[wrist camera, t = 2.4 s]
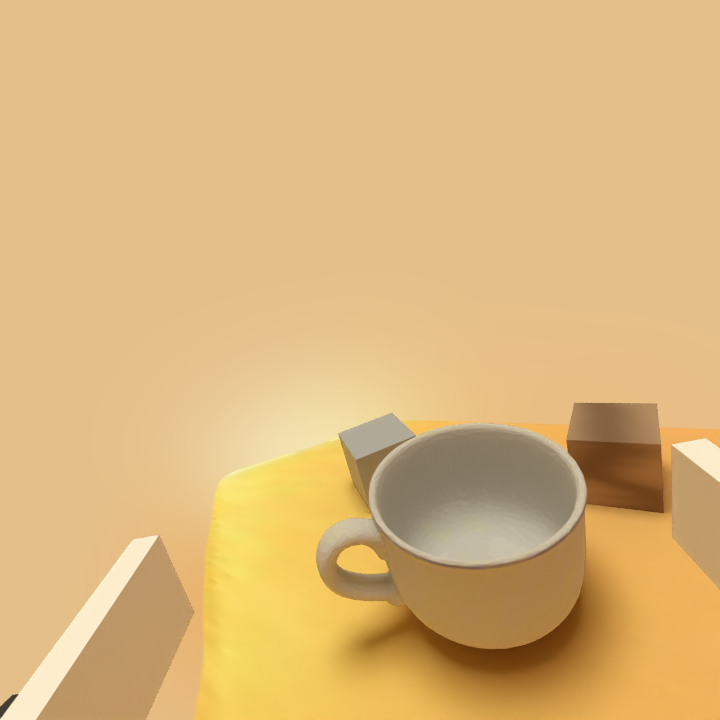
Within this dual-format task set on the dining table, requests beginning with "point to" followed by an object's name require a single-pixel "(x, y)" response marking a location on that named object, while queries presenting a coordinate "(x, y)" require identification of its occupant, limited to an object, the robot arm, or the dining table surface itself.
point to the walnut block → (618, 454)
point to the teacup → (471, 534)
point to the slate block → (371, 448)
